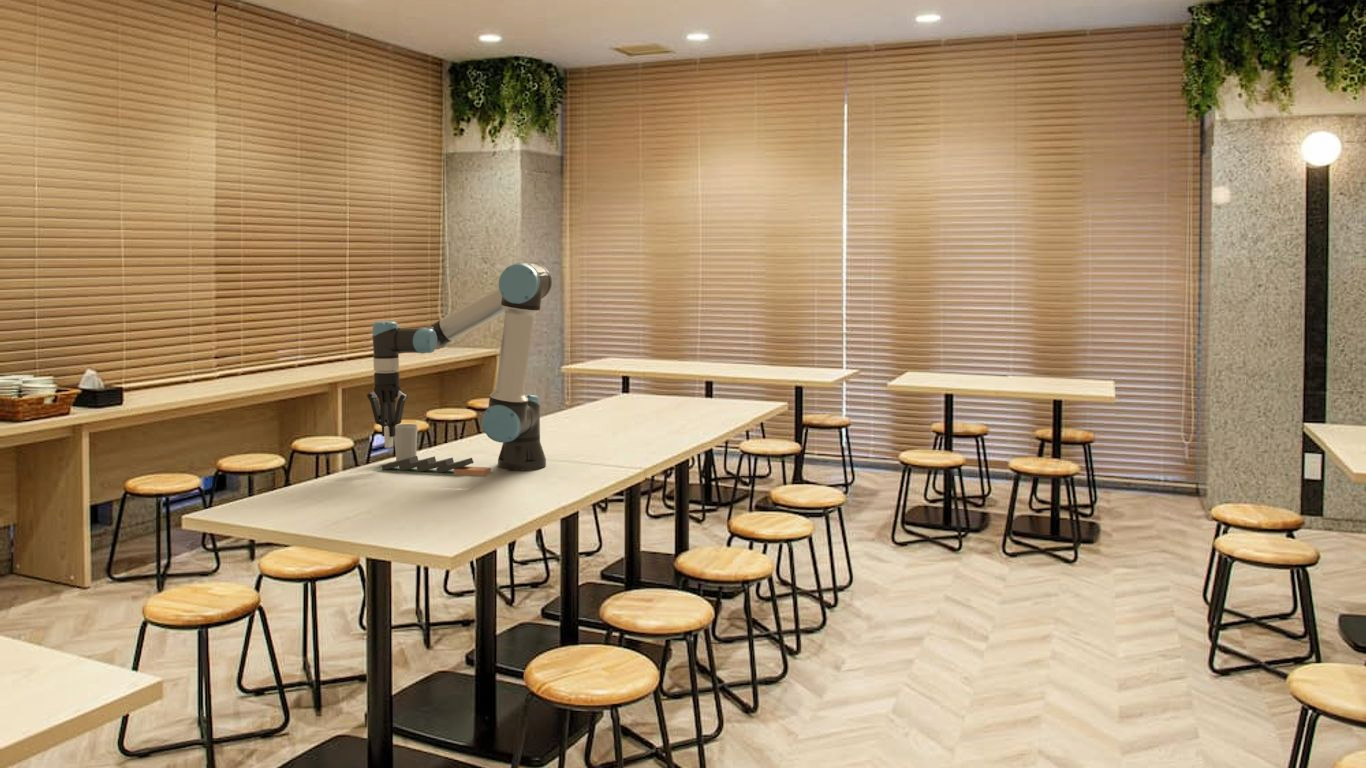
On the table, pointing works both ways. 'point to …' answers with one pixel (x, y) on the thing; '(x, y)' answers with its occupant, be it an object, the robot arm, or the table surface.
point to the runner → (414, 470)
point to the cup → (405, 440)
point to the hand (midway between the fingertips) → (389, 446)
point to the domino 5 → (472, 470)
